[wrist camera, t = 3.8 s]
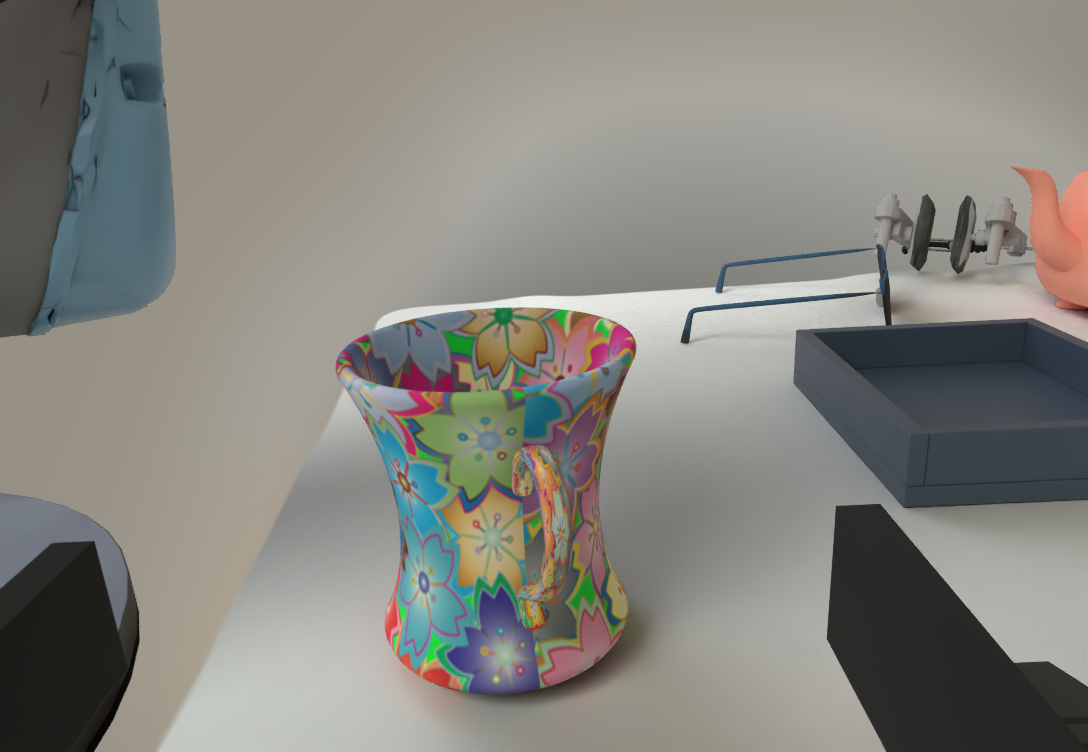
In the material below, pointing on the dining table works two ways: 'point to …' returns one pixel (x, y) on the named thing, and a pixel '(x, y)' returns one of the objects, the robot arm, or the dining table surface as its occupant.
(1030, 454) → the tray
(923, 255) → the wheel axle
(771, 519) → the dining table surface
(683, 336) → the sunglasses
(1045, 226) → the teapot
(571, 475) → the mug
